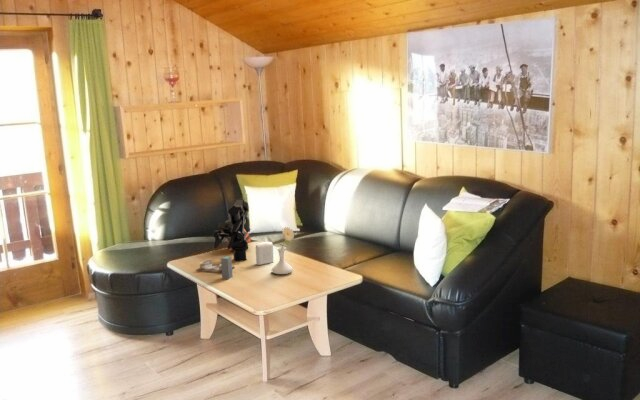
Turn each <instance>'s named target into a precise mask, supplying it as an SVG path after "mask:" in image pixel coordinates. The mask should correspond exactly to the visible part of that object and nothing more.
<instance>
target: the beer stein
mask: <svg viewBox="0 0 640 400" xmlns="http://www.w3.org/2000/svg"><path fill="white" fill-rule="evenodd" d="M230 221H231V220H230V218H229V219H227V220H226V221H225V222H226V223H227V222H230ZM218 229H220V228H218ZM220 231H221V233H224V232H223V231H222V229H220ZM250 232H251V228H250V220H249V216H248V215H247V216H246V217H245V222H244V235H245V239H246V241H247V242H248V244H249V243H250V242H251V241H252V237H251V236H250V234H249V233H250ZM224 239H225V241H226V245H227V246H228V244H229V242H230V240H231V238H228V237H224ZM229 251H230V252H234V250H233V251H232V247H231V248H230V249H229Z"/></svg>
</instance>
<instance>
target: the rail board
mask: <svg viewBox="0 0 640 400" xmlns="http://www.w3.org/2000/svg"><path fill="white" fill-rule="evenodd" d="M234 269H235V266H232V270H234ZM196 272H203V273H213V274H222V268H221V263H220V264H219V265H218V264H213V260H212V259H205V260H203V261H201V262H200V263H199V268H197V269H196Z"/></svg>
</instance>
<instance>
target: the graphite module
mask: <svg viewBox="0 0 640 400" xmlns="http://www.w3.org/2000/svg"><path fill="white" fill-rule="evenodd" d="M220 264H221V268H222V273H221V278H222V280H230V279H232V278H233V269H232V267H233V265H232V264H233V261H232V256H227V255H226V256H222V257H221V258H220Z"/></svg>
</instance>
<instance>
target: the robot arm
mask: <svg viewBox="0 0 640 400" xmlns="http://www.w3.org/2000/svg"><path fill="white" fill-rule="evenodd" d="M227 211H228V212H227V213H228V214H227V215H228V217H229V219H230V220H231V221H230V222H227V223H226V221H220V222H219V223H218V226H217V227H218V229H219V228H220V230H213V231H212V234H211V235H212V236H213V238H214V247H213V248H214V249H217V248H218V247H219V246H220V245H221V244H222V242H223V241H224V239H225V237H228V238H231V240H230V242H229V244H228V245H227V247H226V249H227V250H230V248H231V247H232V251H231V252H232V253H233V255H232V256H233V260H234V261H235V262H243V261H244V262H245V261H247V260H248V259H247V252H246V251H247V250H249V243H248V242H247V241H246V239H245V235H244V224H245V221H246V219H245V217H246V216H247V217H248V212H249V211H250V207H249V203H248V202H247V201H245V199H244V198H236V199H235V202H234V204H233V205H231V207H230V208H229V209H228V210H227ZM221 229H222V230H221ZM222 231H223V232H224V233H222ZM233 250H234V251H233Z"/></svg>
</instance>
